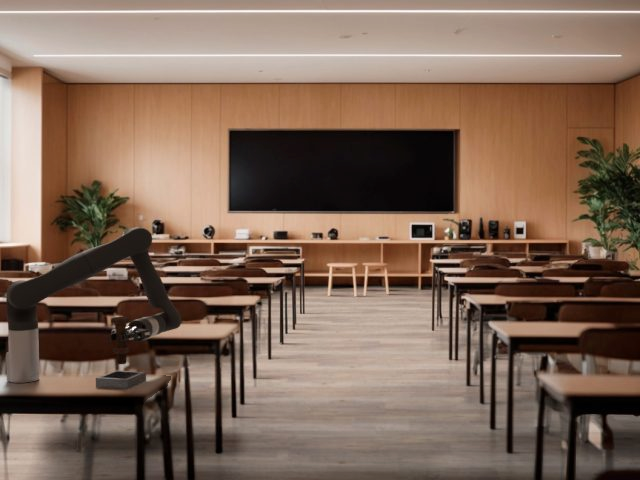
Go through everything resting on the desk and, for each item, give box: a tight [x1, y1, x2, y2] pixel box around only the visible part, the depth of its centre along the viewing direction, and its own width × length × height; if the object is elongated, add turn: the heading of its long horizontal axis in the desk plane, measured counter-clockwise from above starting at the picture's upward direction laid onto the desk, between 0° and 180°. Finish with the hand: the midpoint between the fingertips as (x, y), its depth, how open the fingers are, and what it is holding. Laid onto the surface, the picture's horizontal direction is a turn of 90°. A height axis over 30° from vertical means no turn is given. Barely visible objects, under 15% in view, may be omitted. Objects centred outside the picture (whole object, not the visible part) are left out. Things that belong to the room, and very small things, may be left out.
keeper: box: [95, 370, 147, 390], centre depth 228 cm, size 11×11×3 cm
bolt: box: [110, 316, 131, 365], centre depth 228 cm, size 6×5×15 cm
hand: (116, 337), depth 225 cm, fingers closed on bolt, 3 cm apart
